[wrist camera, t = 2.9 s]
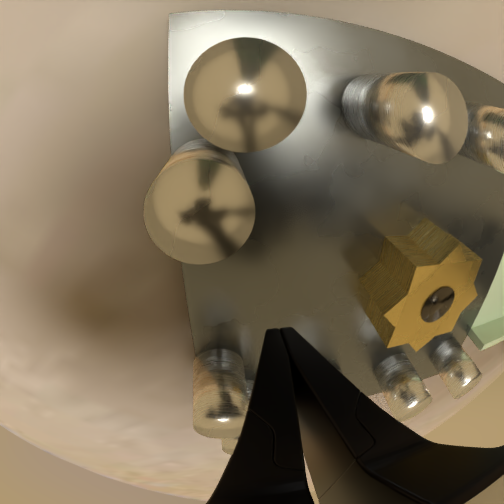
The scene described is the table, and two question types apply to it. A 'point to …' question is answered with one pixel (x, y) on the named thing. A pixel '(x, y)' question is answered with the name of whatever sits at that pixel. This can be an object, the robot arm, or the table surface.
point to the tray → (490, 314)
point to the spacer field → (318, 195)
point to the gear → (420, 285)
